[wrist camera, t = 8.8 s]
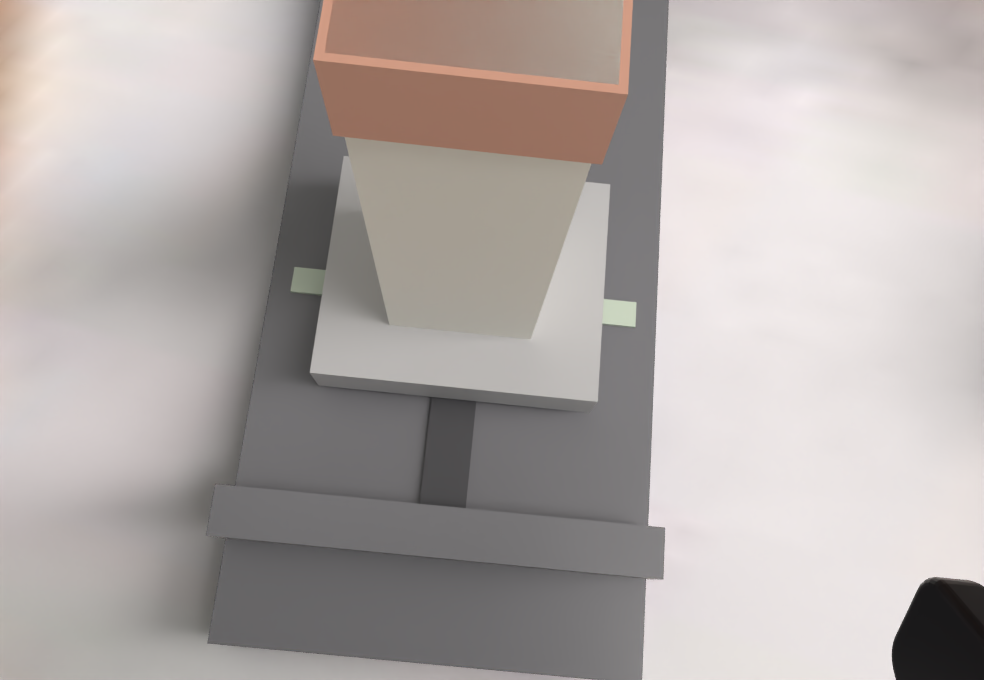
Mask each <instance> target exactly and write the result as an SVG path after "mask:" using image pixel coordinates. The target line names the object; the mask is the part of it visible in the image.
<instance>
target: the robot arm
mask: <svg viewBox="0 0 984 680" xmlns="http://www.w3.org/2000/svg"><path fill="white" fill-rule="evenodd" d="M892 664H893V670H894V674H895V678H896V680H984V587H983V586H982V585H980V584H978V583H976V582H973V581H969V580H960V579H950V578H940V577H933V578H928V579H927V580H925V581H924V582H923V583H922V584H921V585H920V586H919V588H918V590H917V592H916V594H915V596H914V598H913V600H912V603H911V605H910V607H909V609H908V611H907V613H906V615H905V617H904V619H903V622H902V624H901V626H900V628H899V630H898V632H897V634H896V636H895V639H894V642H893V647H892Z"/></svg>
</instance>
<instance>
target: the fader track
mask: <svg viewBox="0 0 984 680" xmlns="http://www.w3.org/2000/svg"><path fill="white" fill-rule="evenodd" d="M668 5H669V0H633V10H632V29H631V48H630V67H629V85H628V96H627V99H626V101H625V104H624V107H623V109H622V112H621V115H620V117H619V120H618V123H617V125H616V128H615V131H614V133H613V136H612V139H611V142H610V144H609V147H608V150H607V152H606V155H605V158H604V160H603V163H602V165H600V164H591V166H590V169H589V172H588V175H587V178H586V181H585V182H592V183H602V184H610V199H609V216H608V233H607V250H606V268H605V285H604V302H603V319H602V336H601V354H600V371H599V388H598V402H597V403H596V404H595V406H594V407H593V408H592V409H591V410H590V411H589V413H587V412H577V411H567V410H557V409H547V408H537V407H527V406H517V405H507V404H498V403H488V402H478V401H468V400H458V399H448V398H438V397H428V396H418V395H408V394H398V393H388V392H378V391H369V390H359V389H349V388H339V387H329V386H319V385H318V384H317V383H316V381H315V380H314V378H313V377H312V375H311V374H310V367H311V361H312V355H313V348H314V342H315V336H316V329H317V323H318V317H319V310H320V304H321V298H322V291H323V285H324V279H325V272H326V266H327V259H328V253H329V247H330V240H331V234H332V228H333V221H334V215H335V209H336V202H337V196H338V190H339V183H340V177H341V171H342V164H343V158H344V156H349V154H348V149H347V145H346V141H345V137H340V136H333V134H332V130H331V126H330V122H329V119H328V115H327V111H326V107H325V104H324V100H323V96H322V92H321V88H320V85H319V81H318V77H317V73H316V69H315V66H314V62H313V57H314V51H315V46H316V40H317V34H318V28H319V23H320V17H321V11H322V6H323V0H321V1H320V7H319V12H318V18H317V24H316V29H315V35H314V41H313V46H312V52H311V58H310V63H309V69H308V75H307V80H306V86H305V92H304V97H303V103H302V109H301V114H300V120H299V126H298V132H297V137H296V143H295V149H294V154H293V160H292V166H291V171H290V177H289V183H288V188H287V194H286V200H285V205H284V211H283V217H282V222H281V228H280V234H279V239H278V245H277V251H276V256H275V262H274V268H273V273H272V279H271V285H270V290H269V296H268V302H267V307H266V313H265V319H264V325H263V330H262V336H261V342H260V347H259V353H258V359H257V364H256V370H255V376H254V381H253V387H252V393H251V398H250V404H249V410H248V415H247V421H246V427H245V432H244V438H243V444H242V449H241V455H240V461H239V466H238V472H237V478H236V483H235V486H233V485H223V484H215V488H214V494H213V499H212V505H211V510H210V516H209V521H208V527H207V532H206V535H207V536H213V537H219V538H225V539H226V540H225V546H224V552H223V557H222V563H221V569H220V574H219V580H218V586H217V591H216V597H215V603H214V608H213V614H212V620H211V625H210V631H209V637H208V642H207V643H210V644H220V645H231V646H242V647H252V648H263V649H274V650H284V651H295V652H306V653H317V654H327V655H338V656H349V657H359V658H370V659H381V660H391V661H402V662H413V663H424V664H434V665H445V666H456V667H466V668H477V669H488V670H498V671H509V672H520V673H531V674H541V675H552V676H563V677H573V678H584V679H595V680H642V667H643V641H644V616H645V590H646V579H663V573H664V543H665V528H662V527H652V526H648V514H649V489H650V463H651V438H652V412H653V387H654V361H655V336H656V310H657V285H658V259H659V234H660V209H661V183H662V158H663V132H664V107H665V81H666V56H667V30H668Z"/></svg>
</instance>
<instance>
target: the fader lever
mask: <svg viewBox="0 0 984 680" xmlns="http://www.w3.org/2000/svg"><path fill="white" fill-rule="evenodd" d="M632 10H633V0H323V6H322V11H321V17H320V23H319V28H318V34H317V40H316V46H315V51H314V57H313V62H314V66H315V69H316V73H317V77H318V81H319V85H320V88H321V92H322V96H323V100H324V104H325V107H326V111H327V115H328V119H329V122H330V126H331V130H332V134H333V136H340V137H345V141H346V145H347V149H348V154H349V156H344V158H343V164H342V171H341V177H340V183H339V190H338V196H337V202H336V209H335V215H334V221H333V228H332V234H331V240H330V247H329V253H328V259H327V266H326V272H325V279H324V285H323V291H322V298H321V304H320V310H319V317H318V323H317V329H316V336H315V342H314V348H313V355H312V361H311V367H310V374H311V375H312V377H313V378H314V380H315V381H316V383H317V384H318V385H319V386H329V387H339V388H349V389H359V390H369V391H378V392H388V393H398V394H408V395H418V396H428V397H438V398H448V399H458V400H468V401H478V402H488V403H498V404H507V405H517V406H527V407H537V408H547V409H557V410H567V411H577V412H587V413H589V411H590V410H591V409H592V408H593V407H594V406H595V404H596V403H597V402H598V388H599V371H600V354H601V336H602V319H603V302H604V285H605V268H606V250H607V233H608V216H609V199H610V184H602V183H592V182H585V181H586V178H587V175H588V172H589V169H590V166H591V164H600V165H602V163H603V160H604V158H605V155H606V152H607V150H608V147H609V144H610V142H611V139H612V136H613V133H614V131H615V128H616V125H617V123H618V120H619V117H620V115H621V112H622V109H623V107H624V104H625V101H626V99H627V96H628V85H629V67H630V48H631V29H632Z"/></svg>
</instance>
